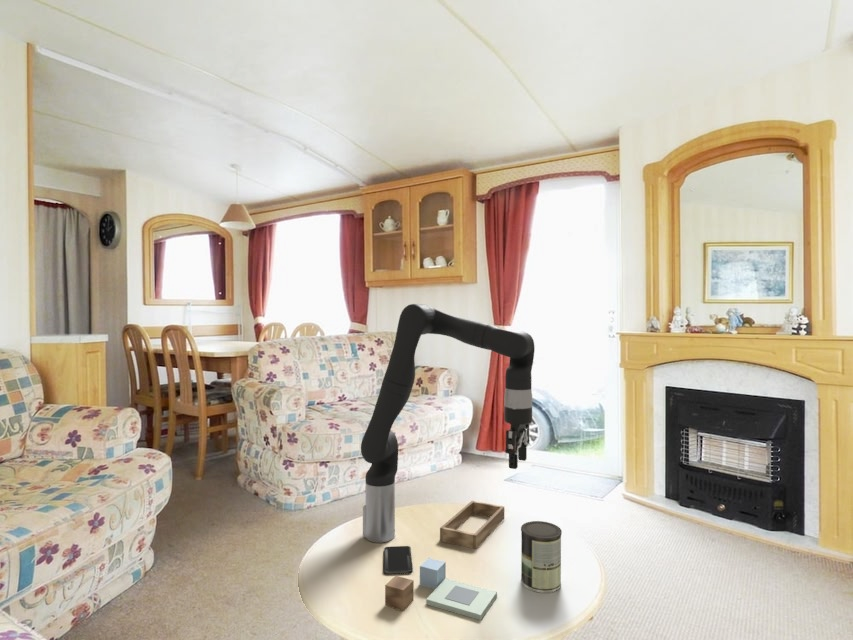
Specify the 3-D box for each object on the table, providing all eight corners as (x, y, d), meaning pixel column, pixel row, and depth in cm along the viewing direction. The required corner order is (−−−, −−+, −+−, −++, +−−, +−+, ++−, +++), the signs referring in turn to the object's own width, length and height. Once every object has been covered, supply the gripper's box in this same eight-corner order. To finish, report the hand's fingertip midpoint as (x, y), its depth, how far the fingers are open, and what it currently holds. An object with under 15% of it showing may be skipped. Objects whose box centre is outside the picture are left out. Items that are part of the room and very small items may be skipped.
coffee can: (513, 584, 131) (513, 529, 131) (532, 568, 139) (532, 517, 139) (550, 598, 124) (550, 541, 124) (568, 581, 132) (568, 527, 132)
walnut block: (385, 605, 121) (385, 585, 121) (395, 595, 126) (395, 575, 126) (403, 611, 119) (403, 590, 119) (413, 600, 123) (413, 580, 123)
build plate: (426, 604, 122) (426, 598, 122) (445, 582, 131) (445, 577, 131) (480, 620, 115) (480, 614, 115) (496, 596, 125) (496, 591, 125)
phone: (383, 572, 135) (384, 546, 150) (383, 576, 135) (384, 550, 150) (413, 571, 136) (410, 545, 151) (413, 575, 136) (410, 549, 151)
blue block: (419, 585, 130) (419, 566, 130) (428, 576, 135) (428, 557, 135) (437, 590, 128) (437, 570, 128) (445, 581, 133) (445, 562, 132)
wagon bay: (440, 540, 156) (440, 527, 156) (471, 511, 179) (471, 500, 179) (476, 549, 151) (476, 535, 150) (504, 518, 174) (504, 506, 174)
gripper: (512, 400, 146) (512, 456, 146) (496, 407, 133) (496, 469, 133) (538, 402, 143) (538, 459, 143) (524, 410, 130) (523, 473, 130)
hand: (517, 464), depth 138 cm, fingers open, 8 cm apart
